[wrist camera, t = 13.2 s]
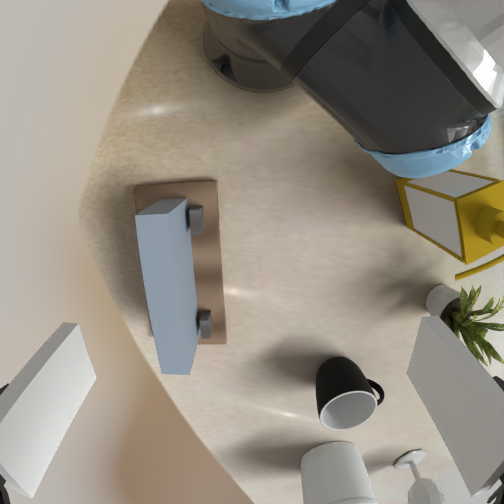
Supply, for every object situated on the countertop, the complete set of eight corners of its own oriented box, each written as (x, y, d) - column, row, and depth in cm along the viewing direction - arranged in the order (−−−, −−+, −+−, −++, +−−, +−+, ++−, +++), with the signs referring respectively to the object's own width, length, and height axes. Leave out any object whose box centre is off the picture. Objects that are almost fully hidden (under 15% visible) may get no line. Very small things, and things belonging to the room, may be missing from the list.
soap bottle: (361, 192, 42) (460, 244, 19) (434, 166, 40) (554, 194, 18) (374, 240, 44) (465, 323, 21) (444, 211, 42) (555, 266, 20)
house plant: (486, 281, 46) (542, 323, 30) (444, 343, 50) (487, 398, 34) (440, 244, 44) (504, 287, 28) (393, 317, 48) (437, 379, 32)
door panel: (161, 199, 40) (134, 215, 31) (187, 197, 40) (168, 213, 31) (177, 332, 47) (161, 373, 37) (200, 332, 47) (189, 375, 37)
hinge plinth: (137, 185, 41) (125, 190, 37) (217, 180, 41) (212, 184, 37) (158, 337, 49) (151, 353, 45) (226, 338, 49) (224, 355, 45)
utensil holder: (291, 448, 58) (298, 516, 41) (360, 431, 57) (380, 496, 40) (302, 478, 63) (309, 536, 46) (362, 463, 61) (378, 520, 45)
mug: (304, 388, 52) (311, 430, 43) (318, 347, 49) (330, 389, 40) (365, 391, 53) (380, 430, 43) (383, 353, 50) (403, 391, 40)
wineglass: (388, 466, 63) (408, 530, 43) (410, 447, 60) (437, 512, 40) (409, 468, 64) (430, 526, 44) (431, 449, 61) (457, 508, 41)
